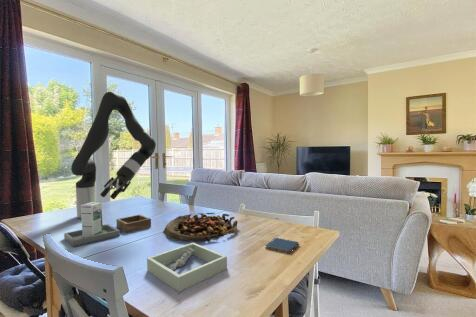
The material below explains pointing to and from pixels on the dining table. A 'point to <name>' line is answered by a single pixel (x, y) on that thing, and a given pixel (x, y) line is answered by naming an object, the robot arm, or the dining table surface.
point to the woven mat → (282, 245)
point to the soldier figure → (182, 259)
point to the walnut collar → (133, 223)
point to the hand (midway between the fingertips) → (106, 197)
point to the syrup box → (91, 219)
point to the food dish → (199, 227)
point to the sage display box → (190, 277)
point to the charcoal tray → (78, 239)
